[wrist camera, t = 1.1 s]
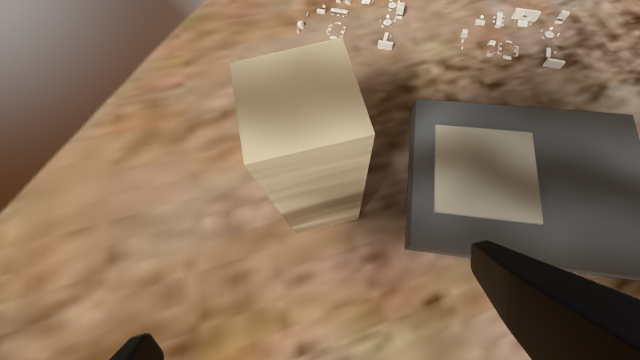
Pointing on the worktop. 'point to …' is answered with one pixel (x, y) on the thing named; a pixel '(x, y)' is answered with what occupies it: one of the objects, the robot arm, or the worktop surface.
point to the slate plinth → (526, 184)
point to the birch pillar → (305, 132)
